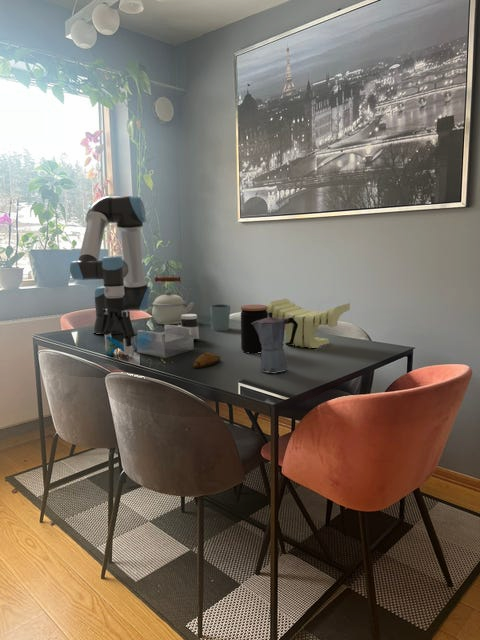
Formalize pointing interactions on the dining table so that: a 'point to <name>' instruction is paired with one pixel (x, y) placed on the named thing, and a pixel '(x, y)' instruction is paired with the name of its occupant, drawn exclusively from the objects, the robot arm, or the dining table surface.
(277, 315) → the beige slatted piece
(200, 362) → the croissant
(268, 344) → the moka pot
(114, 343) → the blue irregular piece
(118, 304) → the robot arm
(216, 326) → the teal tumbler cup
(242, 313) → the coffee jar
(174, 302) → the kettle
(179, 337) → the storage box
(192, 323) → the spread jar
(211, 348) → the dining table surface
